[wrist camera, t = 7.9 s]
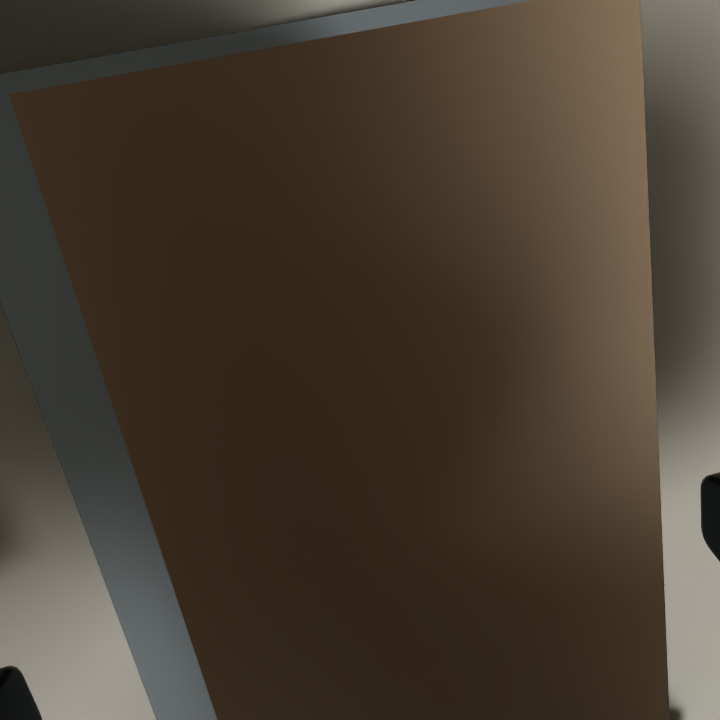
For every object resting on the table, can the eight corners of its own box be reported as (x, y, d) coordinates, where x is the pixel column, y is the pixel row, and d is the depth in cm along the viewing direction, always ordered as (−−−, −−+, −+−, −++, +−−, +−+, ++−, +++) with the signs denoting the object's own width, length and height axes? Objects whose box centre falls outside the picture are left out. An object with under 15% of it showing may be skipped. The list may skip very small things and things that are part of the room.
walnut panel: (383, 89, 9) (640, -20, 3) (489, 751, 13) (689, 1225, 7) (157, 131, 9) (8, 92, 3) (337, 799, 12) (422, 1334, 7)
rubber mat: (534, -17, 9) (547, -23, 9) (600, 737, 14) (610, 754, 13) (-66, 91, 8) (-81, 88, 8) (216, 857, 13) (216, 878, 13)
